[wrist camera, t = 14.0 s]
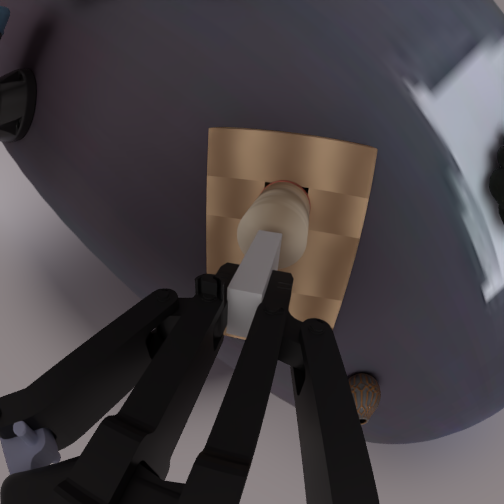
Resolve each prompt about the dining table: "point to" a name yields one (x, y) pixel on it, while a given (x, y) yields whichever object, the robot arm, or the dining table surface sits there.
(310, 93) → the dining table surface
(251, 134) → the oak board
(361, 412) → the vase
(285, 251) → the beech peg
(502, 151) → the squash
